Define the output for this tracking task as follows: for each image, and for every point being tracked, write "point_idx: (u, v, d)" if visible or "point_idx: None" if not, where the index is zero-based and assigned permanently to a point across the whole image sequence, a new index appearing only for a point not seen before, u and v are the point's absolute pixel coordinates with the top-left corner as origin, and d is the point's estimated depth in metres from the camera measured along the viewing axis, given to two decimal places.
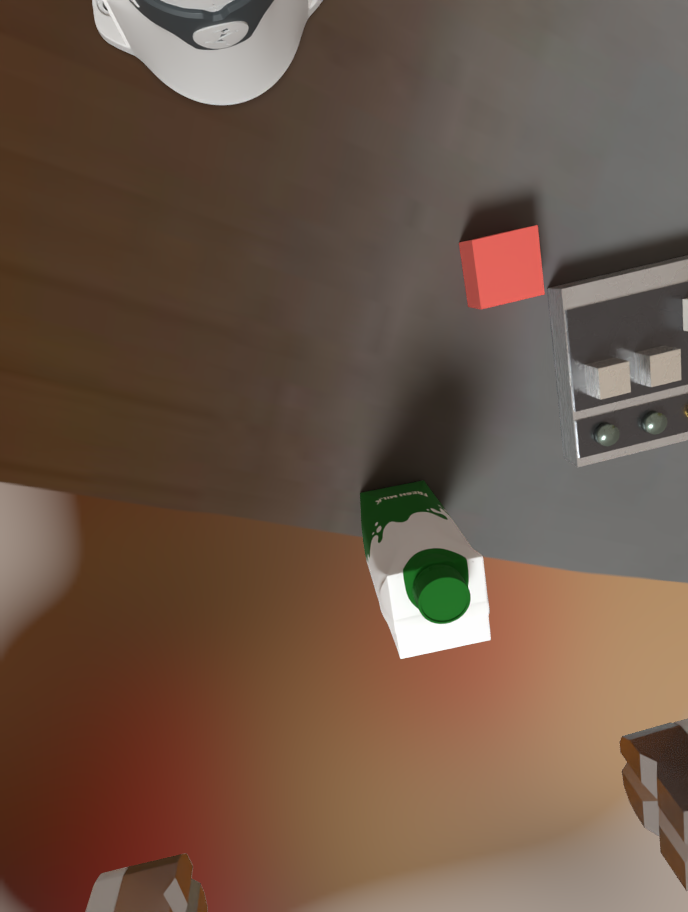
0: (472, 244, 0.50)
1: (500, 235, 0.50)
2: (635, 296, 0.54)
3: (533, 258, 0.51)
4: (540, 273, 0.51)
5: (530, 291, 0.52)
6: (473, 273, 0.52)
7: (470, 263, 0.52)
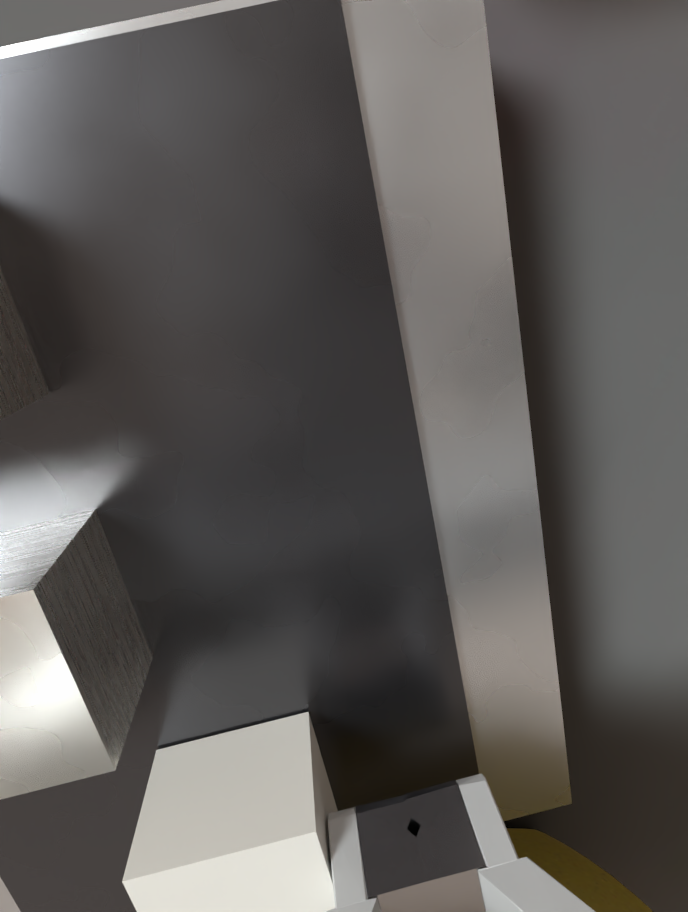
0: None
1: None
2: (407, 460, 0.10)
3: None
4: None
5: None
6: None
7: None
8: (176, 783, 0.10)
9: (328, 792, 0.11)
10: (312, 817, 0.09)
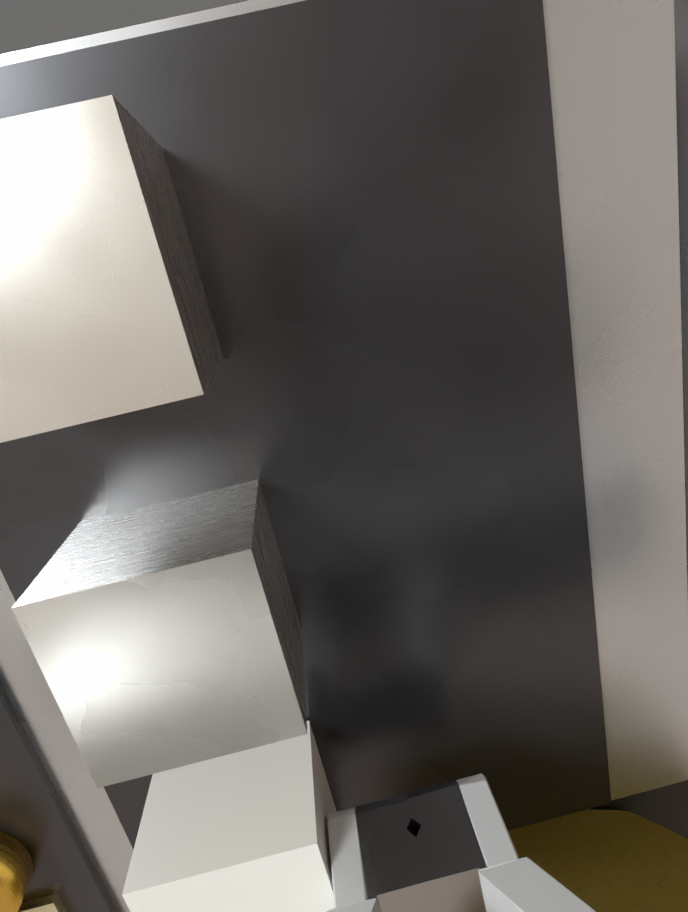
0: None
1: None
2: (561, 430, 0.10)
3: None
4: None
5: None
6: None
7: None
8: (177, 793, 0.10)
9: (329, 801, 0.11)
10: (313, 828, 0.09)
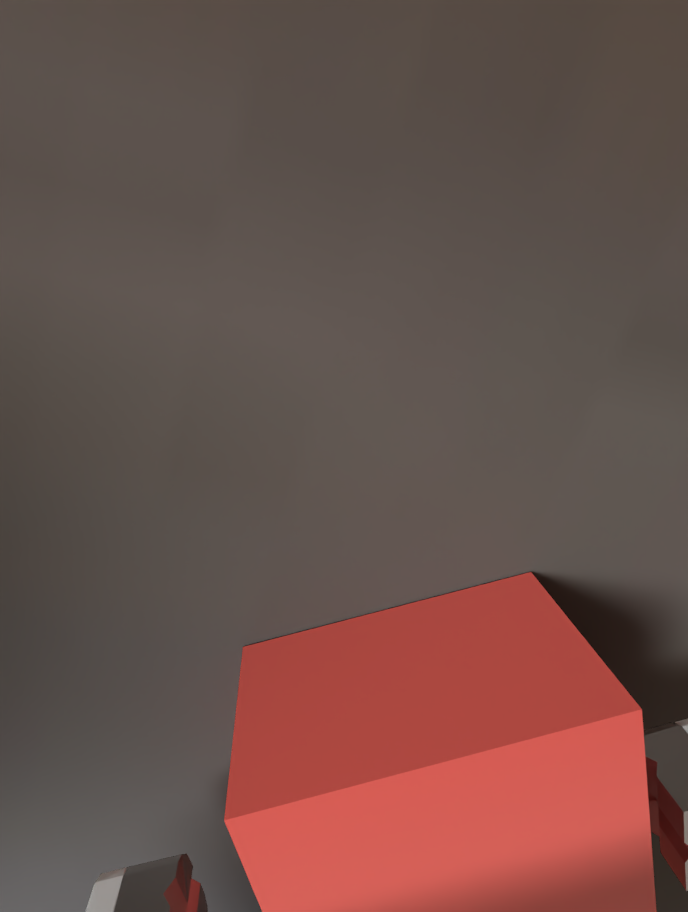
0: (615, 713, 0.08)
1: (642, 841, 0.09)
2: None
3: None
4: None
5: None
6: (433, 718, 0.09)
7: (479, 683, 0.09)
8: None
9: None
10: None
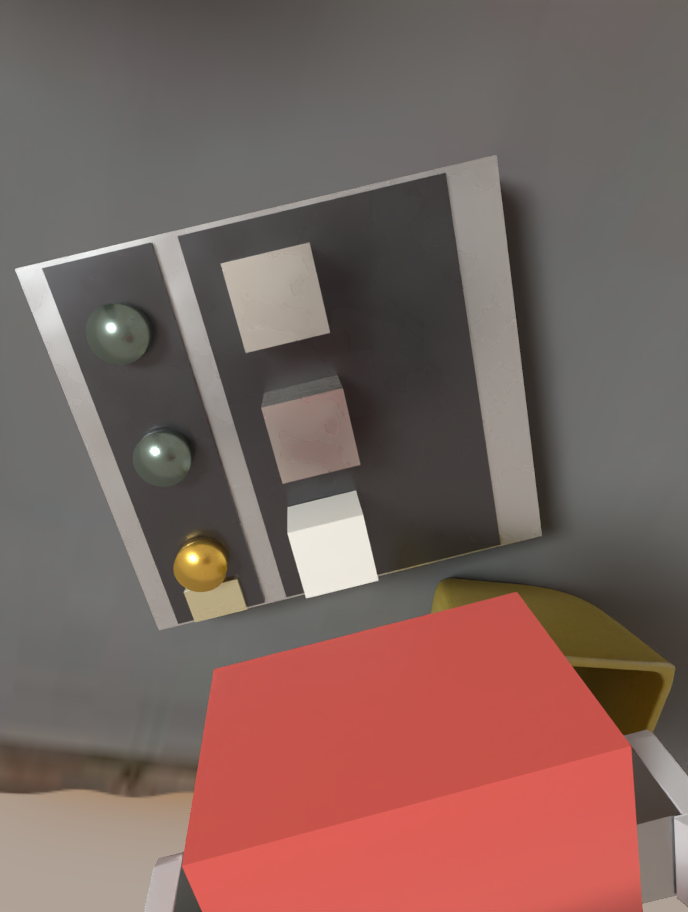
0: (602, 750, 0.08)
1: (631, 884, 0.08)
2: (465, 356, 0.23)
3: None
4: None
5: None
6: (409, 753, 0.08)
7: (459, 713, 0.09)
8: (300, 512, 0.23)
9: None
10: (361, 512, 0.22)
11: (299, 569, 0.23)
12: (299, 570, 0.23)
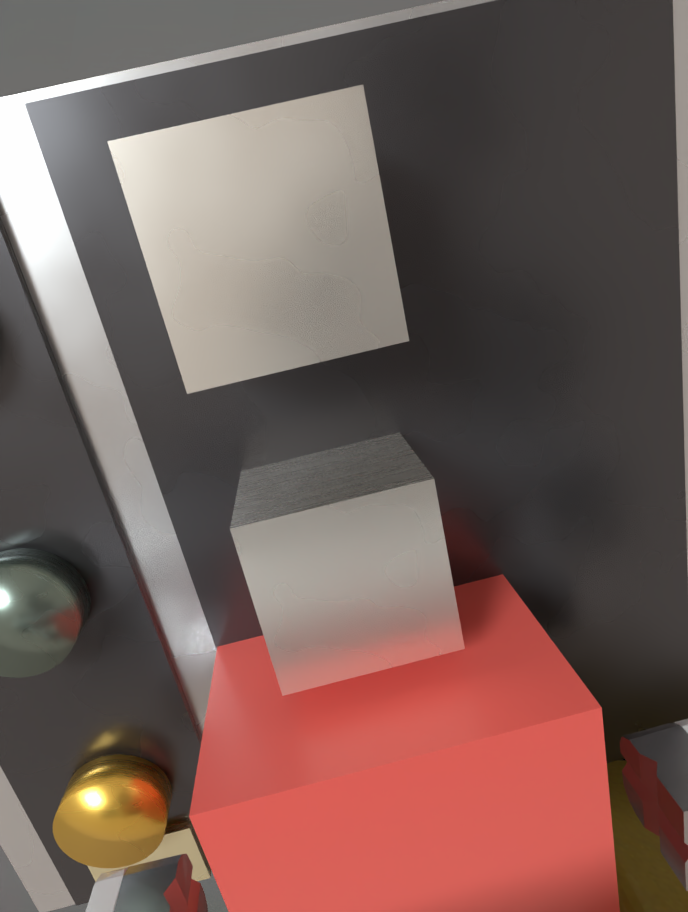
0: (575, 711, 0.08)
1: (604, 839, 0.09)
2: (664, 390, 0.11)
3: None
4: None
5: None
6: (398, 716, 0.09)
7: (446, 682, 0.09)
8: None
9: None
10: None
11: None
12: None
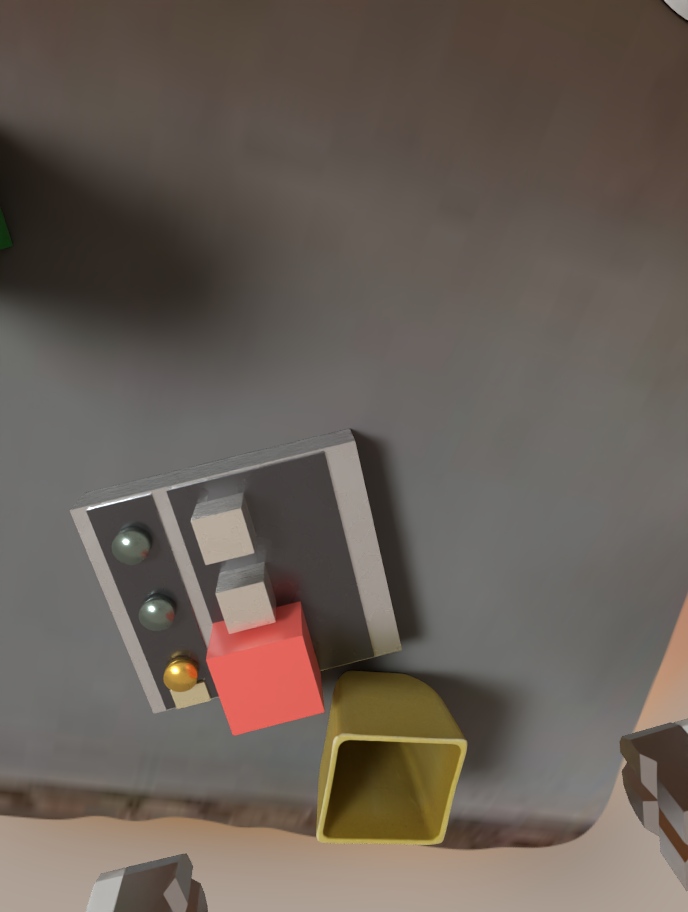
0: (296, 636, 0.35)
1: (309, 670, 0.36)
2: (344, 547, 0.38)
3: (281, 714, 0.36)
4: (261, 725, 0.37)
5: (236, 718, 0.36)
6: (257, 638, 0.35)
7: (271, 631, 0.36)
8: None
9: None
10: None
11: None
12: None
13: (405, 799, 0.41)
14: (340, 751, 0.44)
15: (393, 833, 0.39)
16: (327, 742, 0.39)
